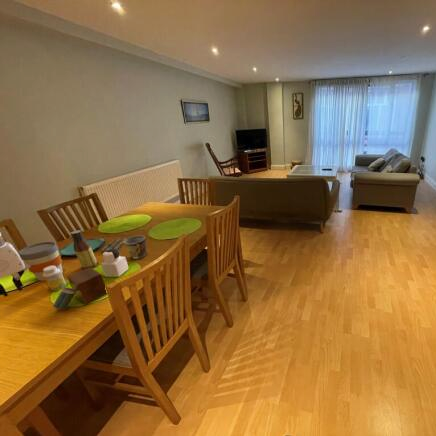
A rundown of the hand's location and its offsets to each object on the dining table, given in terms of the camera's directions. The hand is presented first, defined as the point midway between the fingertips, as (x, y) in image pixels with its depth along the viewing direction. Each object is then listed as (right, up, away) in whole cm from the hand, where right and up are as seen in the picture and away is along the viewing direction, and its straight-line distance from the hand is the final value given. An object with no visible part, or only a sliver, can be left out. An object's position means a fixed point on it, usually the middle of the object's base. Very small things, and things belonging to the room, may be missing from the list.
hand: (12, 291), depth 81 cm
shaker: (+5, -7, +13) cm, 16 cm away
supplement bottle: (-10, -6, +26) cm, 28 cm away
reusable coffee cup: (-22, -3, +34) cm, 41 cm away
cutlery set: (-21, +7, +58) cm, 62 cm away
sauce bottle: (-8, 0, +41) cm, 42 cm away
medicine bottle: (+9, -2, +36) cm, 37 cm away
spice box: (+9, -8, +21) cm, 24 cm away
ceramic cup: (+12, +4, +50) cm, 51 cm away
